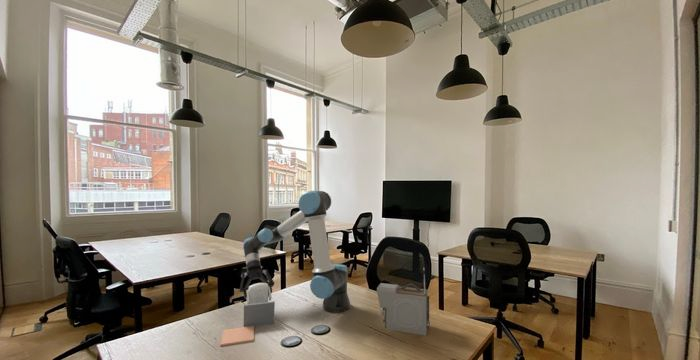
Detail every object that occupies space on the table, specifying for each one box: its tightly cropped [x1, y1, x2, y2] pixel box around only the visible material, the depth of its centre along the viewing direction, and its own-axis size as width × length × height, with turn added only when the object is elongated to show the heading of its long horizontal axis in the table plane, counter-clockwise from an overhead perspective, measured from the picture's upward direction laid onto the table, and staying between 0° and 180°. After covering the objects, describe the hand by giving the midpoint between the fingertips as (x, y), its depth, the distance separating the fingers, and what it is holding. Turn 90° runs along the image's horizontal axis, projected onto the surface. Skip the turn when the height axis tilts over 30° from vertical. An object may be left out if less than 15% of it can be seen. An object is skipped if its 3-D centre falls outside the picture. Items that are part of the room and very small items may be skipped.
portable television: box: [376, 267, 431, 336], centre depth 136 cm, size 12×24×30 cm, turn 70°
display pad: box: [219, 326, 255, 347], centre depth 126 cm, size 13×13×1 cm
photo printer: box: [247, 282, 269, 304], centre depth 147 cm, size 10×4×12 cm, turn 123°
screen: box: [242, 300, 275, 327], centre depth 137 cm, size 14×2×10 cm, turn 108°
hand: (259, 301), depth 144 cm, fingers closed on photo printer, 10 cm apart
